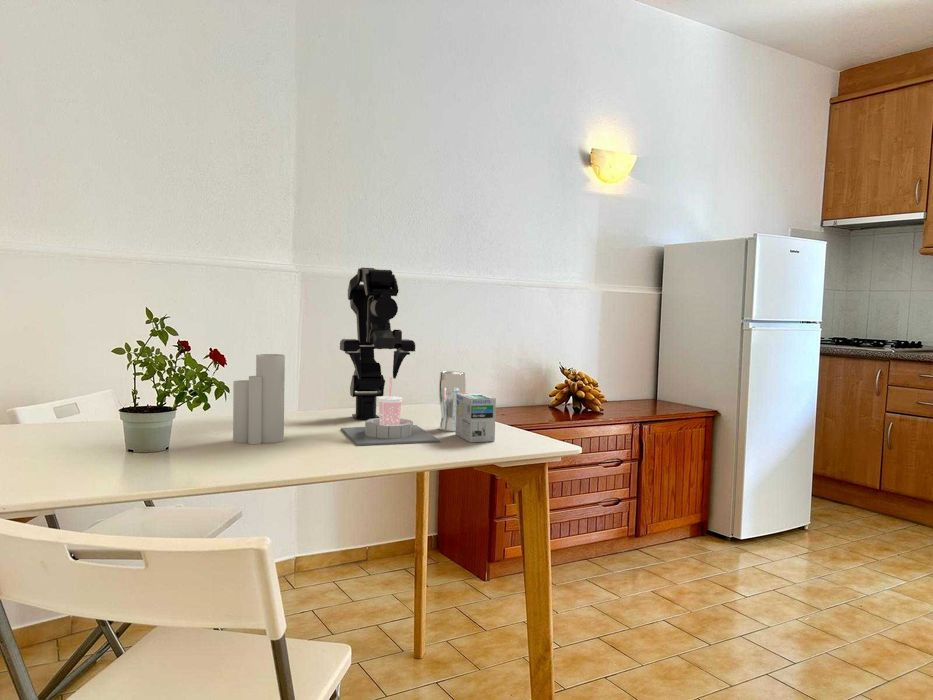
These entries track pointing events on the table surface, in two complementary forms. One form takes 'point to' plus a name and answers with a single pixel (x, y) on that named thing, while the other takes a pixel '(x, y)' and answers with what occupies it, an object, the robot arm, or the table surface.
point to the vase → (260, 402)
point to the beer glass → (450, 397)
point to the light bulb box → (475, 417)
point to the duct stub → (388, 433)
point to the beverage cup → (389, 408)
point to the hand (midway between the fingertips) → (377, 378)
